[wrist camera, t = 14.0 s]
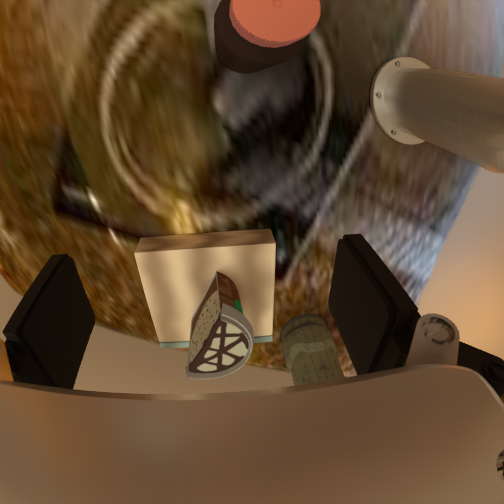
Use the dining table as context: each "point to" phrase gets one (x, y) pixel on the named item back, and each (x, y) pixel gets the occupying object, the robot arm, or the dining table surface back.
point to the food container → (219, 332)
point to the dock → (206, 278)
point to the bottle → (262, 31)
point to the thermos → (310, 350)
